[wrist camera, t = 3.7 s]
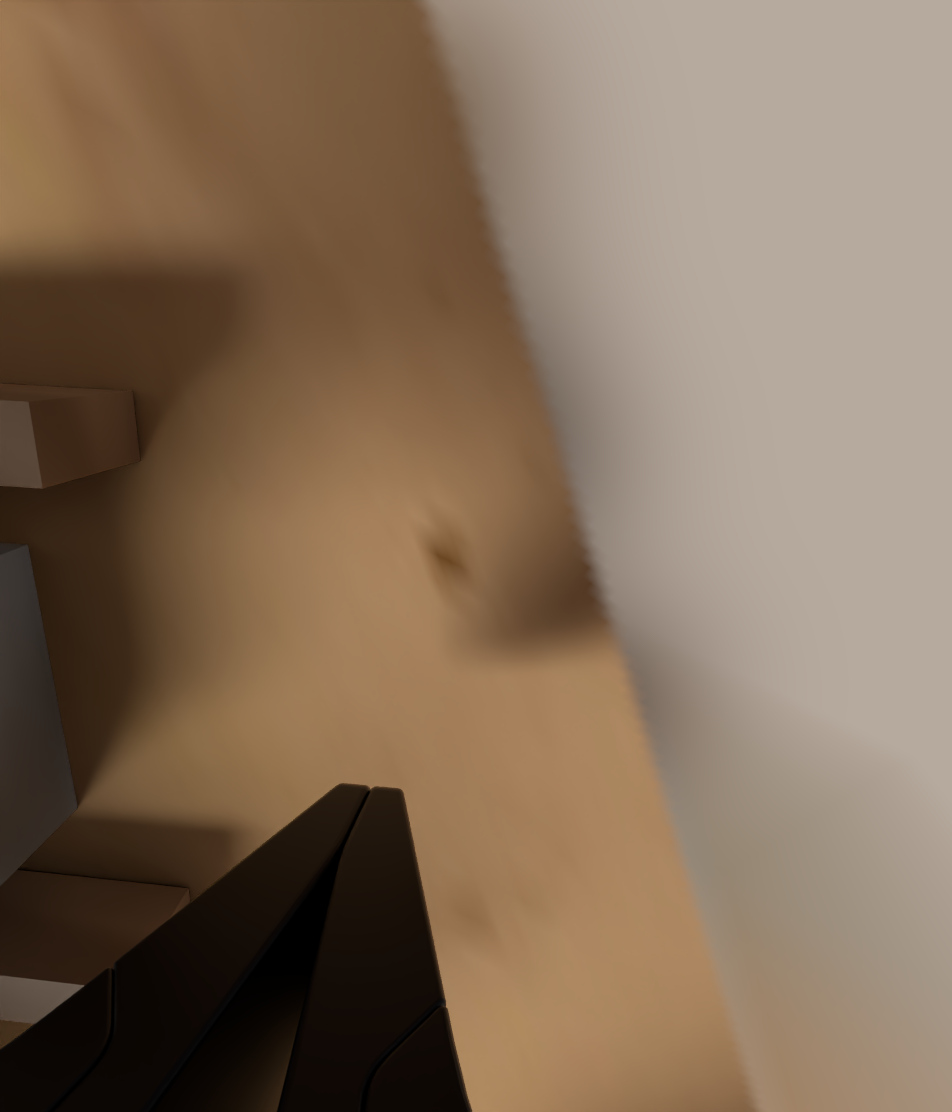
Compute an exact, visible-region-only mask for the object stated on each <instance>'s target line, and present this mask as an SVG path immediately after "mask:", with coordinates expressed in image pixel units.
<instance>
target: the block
mask: <svg viewBox="0 0 952 1112" xmlns="http://www.w3.org/2000/svg"><path fill="white" fill-rule="evenodd" d="M77 808H78V806H77V801H76V796H75V790H74V785H73V780H72V775H71V769H70V764H69V759H68V754H67V748H66V743H65V738H64V733H63V727H62V722H61V717H60V711H59V706H58V701H57V696H56V690H55V685H54V680H53V675H52V669H51V664H50V659H49V654H48V648H47V643H46V638H45V632H44V627H43V622H42V617H41V611H40V606H39V601H38V596H37V590H36V585H35V580H34V575H33V569H32V564H31V559H30V554H29V548H28V544H12V543H0V886H1V885H2V884H3V883H4V882H5V881H6V880H7V879H8V878H9V877H10V876H11V875H12V874H13V873H14V872H15V871H16V870H17V869H18V868H19V867H20V866H21V865H22V864H23V863H24V862H25V861H26V860H27V859H28V858H29V857H30V856H31V855H32V854H33V853H34V852H35V851H36V850H37V849H38V848H39V847H40V846H41V845H42V844H43V843H44V842H45V841H46V840H47V839H48V838H49V837H50V836H51V835H52V834H53V833H54V832H55V830H56V829H57V828H58V827H59V826H60V825H61V824H62V823H63V822H64V821H65V820H66V819H67V818H68V817H69V816H70V815H71V814H72V813H73V812H74V811H75V810H76V809H77Z"/></svg>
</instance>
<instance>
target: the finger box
mask: <svg viewBox="0 0 952 1112" xmlns="http://www.w3.org/2000/svg"><path fill="white" fill-rule="evenodd" d="M138 461H140V453H139V444H138V435H137V426H136V417H135V408H134V399H133V391H123V390H106V389H89V388H72V387H55V386H38V385H21V384H4V383H0V486H12V487H27V488H41V489H43V488H46V487H50V486H53V485H57V484H61V483H64V482H68V481H71V480H75V479H78V478H82V477H85V476H89V475H92V474H96V473H99V472H103V471H106V470H110V469H113V468H117V467H120V466H124V465H127V464H131V463H134V462H138ZM189 902H190V896H189V888H181V887H172V886H163V885H153V884H144V883H135V882H125V881H116V880H107V879H97V878H88V877H79V876H70V875H60V874H51V873H42V872H32V871H23V870H16V871H15V872H14V873H13V874H12V875H11V876H10V877H9V878H8V879H7V880H6V881H5V882H4V883H3V884H2V885H1V886H0V1020H6V1021H14V1022H23V1023H31V1024H35V1023H37V1022H38V1021H39V1020H40V1019H42V1018H43V1017H44V1016H46V1015H47V1014H48V1013H50V1012H51V1011H52V1010H54V1009H55V1008H56V1007H57V1006H59V1005H60V1004H61V1003H63V1002H64V1001H65V1000H67V999H68V998H69V997H71V996H72V995H73V994H74V993H76V992H77V991H78V990H80V989H81V988H82V987H83V986H85V985H86V984H87V983H88V982H90V981H91V980H92V979H93V978H95V977H96V976H97V975H98V974H100V973H101V972H102V971H103V970H105V969H106V968H108V967H111V968H112V969H113V971H114V963H115V961H116V960H118V959H119V958H120V957H121V956H123V955H124V954H125V953H127V952H128V951H129V950H130V949H132V948H133V947H134V946H135V945H137V944H138V943H139V942H140V941H142V940H143V939H144V938H145V937H147V936H148V935H149V934H150V933H152V932H153V931H154V930H155V929H157V928H158V927H159V926H160V925H162V924H163V923H164V922H166V921H167V920H168V919H169V918H171V917H172V916H173V915H174V914H176V913H177V912H178V911H179V910H181V909H182V908H183V907H184V906H186V905H187V904H188V903H189Z"/></svg>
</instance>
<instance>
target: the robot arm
mask: <svg viewBox="0 0 952 1112" xmlns="http://www.w3.org/2000/svg"><path fill="white" fill-rule="evenodd" d="M0 1112H472V1109H471V1106H470V1103H469V1099H468V1096H467V1092H466V1088H465V1084H464V1080H463V1076H462V1072H461V1067H460V1063H459V1059H458V1055H457V1051H456V1047H455V1042H454V1038H453V1033H452V1028H451V1023H450V1018H449V1013H448V1009H447V1008H446V1000H445V995H444V990H443V985H442V980H441V975H440V970H439V965H438V960H437V955H436V950H435V946H434V941H433V936H432V931H431V926H430V921H429V916H428V911H427V906H426V901H425V896H424V891H423V886H422V882H421V877H420V872H419V867H418V862H417V857H416V852H415V847H414V842H413V837H412V832H411V827H410V822H409V818H408V813H407V808H406V803H405V798H404V793H403V791H402V790H401V789H399V788H389V787H378V786H376V787H374V788H372V789H370V788H369V787H368V786H366V785H357V784H347V783H341V784H339V785H337V786H335V787H334V788H333V789H332V790H330V791H329V792H328V793H327V794H325V795H324V796H323V797H322V798H320V799H319V800H318V801H316V802H315V803H314V804H313V805H311V806H310V807H309V808H308V809H306V810H305V811H304V812H303V813H301V814H300V815H299V816H298V817H296V818H295V819H294V820H293V821H291V822H290V823H289V824H288V825H286V826H285V827H284V828H283V829H281V830H280V831H279V832H277V833H276V834H275V835H274V836H272V837H271V838H270V839H269V840H267V841H266V842H265V843H264V844H262V845H261V846H260V847H259V848H257V849H256V850H255V851H254V852H252V853H251V854H250V855H249V856H247V857H246V858H245V859H244V860H242V861H241V862H240V863H238V864H237V865H236V866H235V867H233V868H232V869H231V870H230V871H228V872H227V873H226V874H225V875H223V876H222V877H221V878H220V879H218V880H217V881H216V882H215V883H213V884H212V885H211V886H210V887H208V888H207V889H206V890H205V891H203V892H202V893H201V894H199V895H198V896H197V897H196V898H194V899H193V900H192V901H191V902H189V903H188V904H187V905H186V906H184V907H183V908H182V909H181V910H179V911H178V912H177V913H176V914H174V915H173V916H172V917H171V918H169V919H168V920H167V921H166V922H164V923H163V924H162V925H160V926H159V927H158V928H157V929H155V930H154V931H153V932H152V933H150V934H149V935H148V936H147V937H145V938H144V939H143V940H142V941H140V942H139V943H138V944H137V945H135V946H134V947H133V948H132V949H130V950H129V951H128V952H127V953H125V954H124V955H123V956H121V957H120V958H119V959H118V960H116V961H115V963H114V971H113V969H112V968H111V967H108V968H106V969H105V970H103V971H102V972H101V973H100V974H98V975H97V976H96V977H95V978H93V979H92V980H91V981H90V982H88V983H87V984H86V985H85V986H83V987H82V988H81V989H80V990H78V991H77V992H76V993H74V994H73V995H72V996H71V997H69V998H68V999H67V1000H65V1001H64V1002H63V1003H61V1004H60V1005H59V1006H57V1007H56V1008H55V1009H54V1010H52V1011H51V1012H50V1013H48V1014H47V1015H46V1016H44V1017H43V1018H42V1019H40V1020H39V1021H38V1022H37V1023H35V1024H34V1025H33V1026H31V1027H30V1028H29V1029H27V1030H26V1031H25V1032H23V1033H22V1034H21V1035H20V1036H18V1037H17V1038H15V1039H14V1040H13V1041H11V1042H10V1043H8V1044H7V1045H6V1046H4V1047H3V1048H1V1049H0Z"/></svg>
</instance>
